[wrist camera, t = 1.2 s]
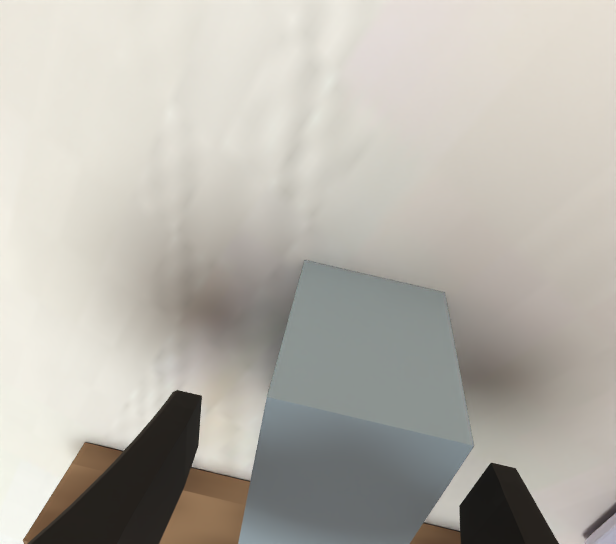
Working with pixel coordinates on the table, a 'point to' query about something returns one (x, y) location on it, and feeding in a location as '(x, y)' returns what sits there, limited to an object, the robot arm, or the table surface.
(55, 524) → the robot arm
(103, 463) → the wooden shelf
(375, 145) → the table surface
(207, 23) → the table surface
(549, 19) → the table surface
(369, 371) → the gray box
